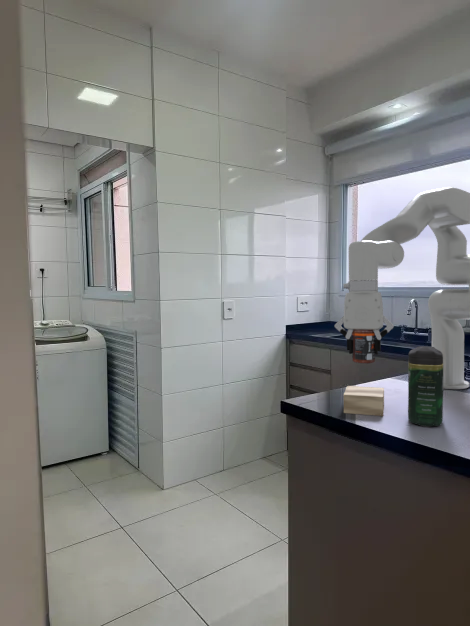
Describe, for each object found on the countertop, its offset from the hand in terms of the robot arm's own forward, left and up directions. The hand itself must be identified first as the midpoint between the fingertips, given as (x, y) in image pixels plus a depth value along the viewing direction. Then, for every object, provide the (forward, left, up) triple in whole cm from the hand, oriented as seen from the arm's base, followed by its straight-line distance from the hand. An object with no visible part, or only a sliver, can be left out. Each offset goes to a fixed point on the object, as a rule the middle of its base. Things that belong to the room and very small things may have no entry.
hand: (363, 352), depth 114 cm
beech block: (0, 0, -16) cm, 16 cm away
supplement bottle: (0, 0, -3) cm, 3 cm away
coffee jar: (+6, +15, -16) cm, 23 cm away
